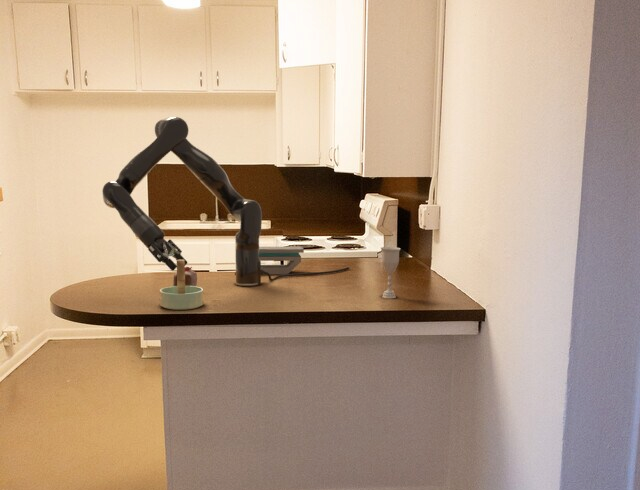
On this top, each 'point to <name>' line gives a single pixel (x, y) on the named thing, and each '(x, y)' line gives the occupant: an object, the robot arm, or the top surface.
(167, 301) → the bowl
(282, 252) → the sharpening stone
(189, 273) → the food item
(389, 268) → the chalice
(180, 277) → the wooden bolt
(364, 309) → the top surface
